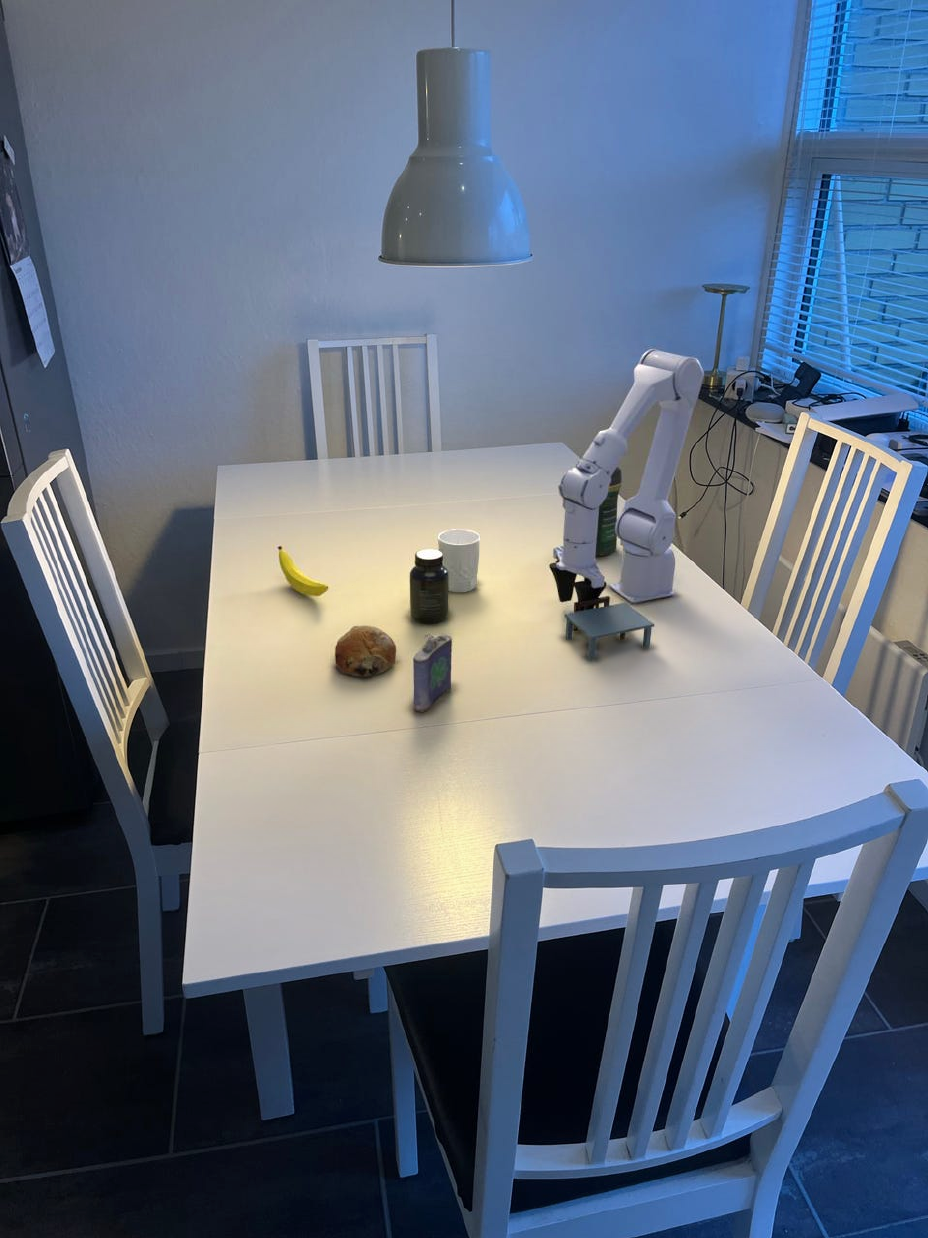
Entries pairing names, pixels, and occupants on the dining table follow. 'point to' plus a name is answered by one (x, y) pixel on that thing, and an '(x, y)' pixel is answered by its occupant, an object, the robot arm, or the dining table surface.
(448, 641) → the flask
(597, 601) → the chair
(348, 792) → the dining table surface
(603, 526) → the coffee jar
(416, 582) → the supplement bottle
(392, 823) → the dining table surface
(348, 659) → the bread roll
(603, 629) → the table
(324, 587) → the banana
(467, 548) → the white cup
